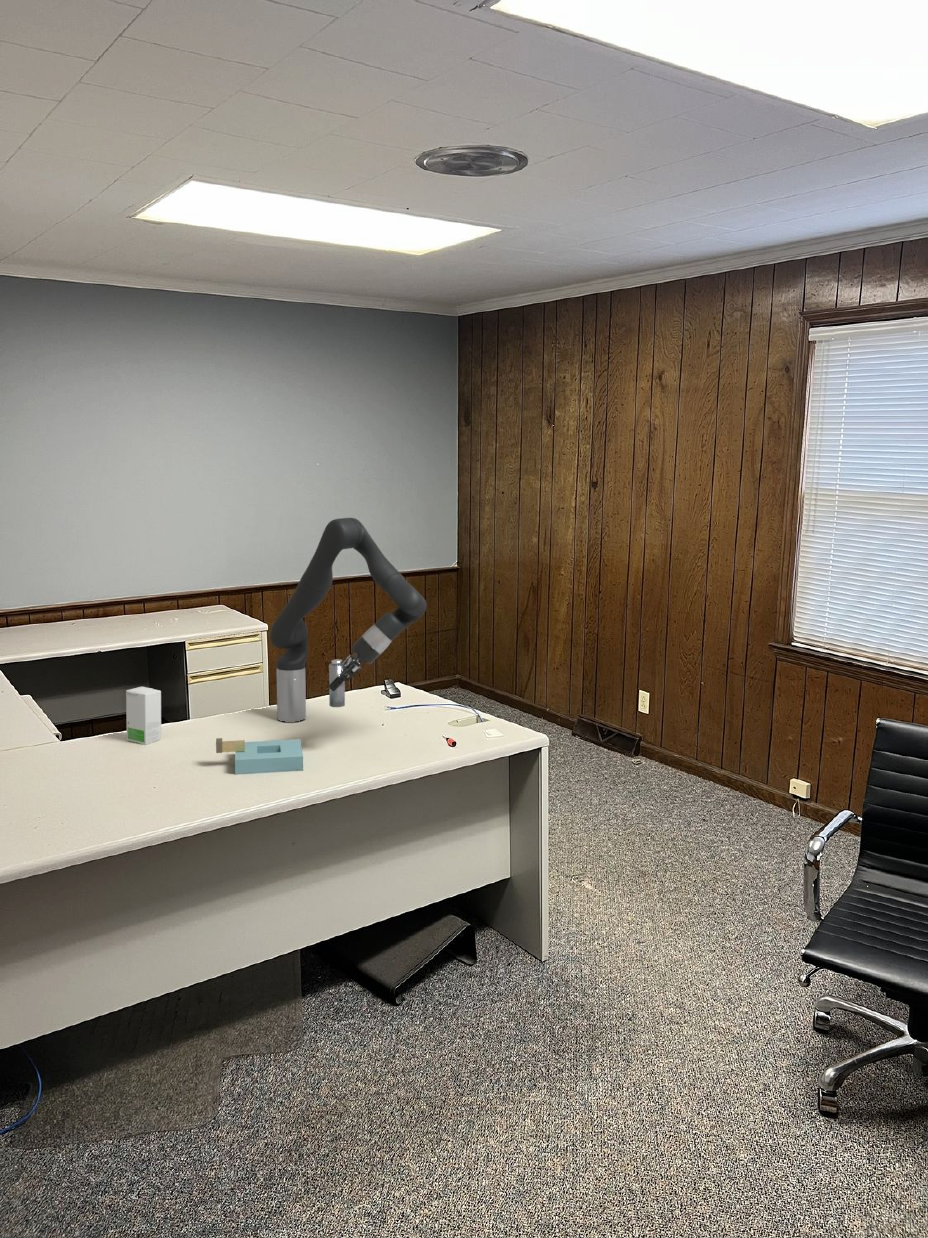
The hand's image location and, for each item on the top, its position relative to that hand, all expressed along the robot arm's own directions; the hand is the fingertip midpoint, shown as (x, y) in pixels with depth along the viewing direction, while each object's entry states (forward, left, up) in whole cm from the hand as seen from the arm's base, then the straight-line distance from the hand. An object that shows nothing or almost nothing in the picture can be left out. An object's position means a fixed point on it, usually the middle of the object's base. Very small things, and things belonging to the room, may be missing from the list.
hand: (330, 686), depth 260 cm
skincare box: (-22, -54, -20) cm, 61 cm away
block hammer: (+6, -27, -16) cm, 32 cm away
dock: (+6, -18, -20) cm, 27 cm away
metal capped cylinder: (0, +2, -6) cm, 6 cm away
